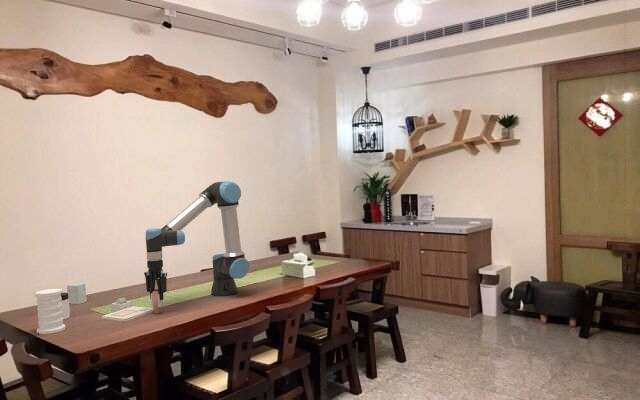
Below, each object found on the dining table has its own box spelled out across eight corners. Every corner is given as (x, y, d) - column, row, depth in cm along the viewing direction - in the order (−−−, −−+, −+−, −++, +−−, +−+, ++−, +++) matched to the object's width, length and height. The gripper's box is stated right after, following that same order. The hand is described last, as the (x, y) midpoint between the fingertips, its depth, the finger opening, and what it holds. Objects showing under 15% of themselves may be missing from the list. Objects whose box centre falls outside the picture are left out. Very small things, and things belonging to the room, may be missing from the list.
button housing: (132, 307, 266) (132, 301, 266) (121, 311, 260) (121, 304, 260) (122, 306, 270) (122, 300, 270) (111, 310, 263) (110, 303, 263)
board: (156, 310, 258) (156, 308, 258) (125, 321, 240) (125, 318, 240) (133, 308, 265) (133, 306, 265) (101, 318, 247) (101, 316, 247)
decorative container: (30, 333, 227) (28, 293, 227) (52, 325, 238) (50, 287, 237) (49, 334, 223) (47, 294, 222) (71, 327, 234) (68, 288, 233)
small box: (86, 301, 286) (85, 283, 285) (79, 304, 280) (77, 285, 280) (75, 301, 288) (74, 283, 288) (67, 303, 283) (66, 285, 282)
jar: (66, 314, 258) (64, 291, 257) (73, 317, 252) (72, 293, 252) (47, 319, 251) (46, 295, 250) (54, 321, 246) (53, 297, 245)
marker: (163, 312, 255) (162, 288, 254) (157, 314, 251) (156, 290, 251) (157, 311, 256) (156, 288, 256) (151, 313, 253) (150, 289, 252)
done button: (127, 305, 266) (127, 298, 266) (121, 307, 262) (121, 300, 262) (122, 305, 268) (121, 297, 267) (115, 307, 264) (115, 299, 264)
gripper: (172, 259, 252) (175, 305, 253) (148, 257, 260) (150, 303, 261) (162, 261, 246) (164, 309, 247) (136, 260, 253) (139, 306, 254)
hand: (157, 305), depth 254 cm, fingers closed on marker, 4 cm apart
